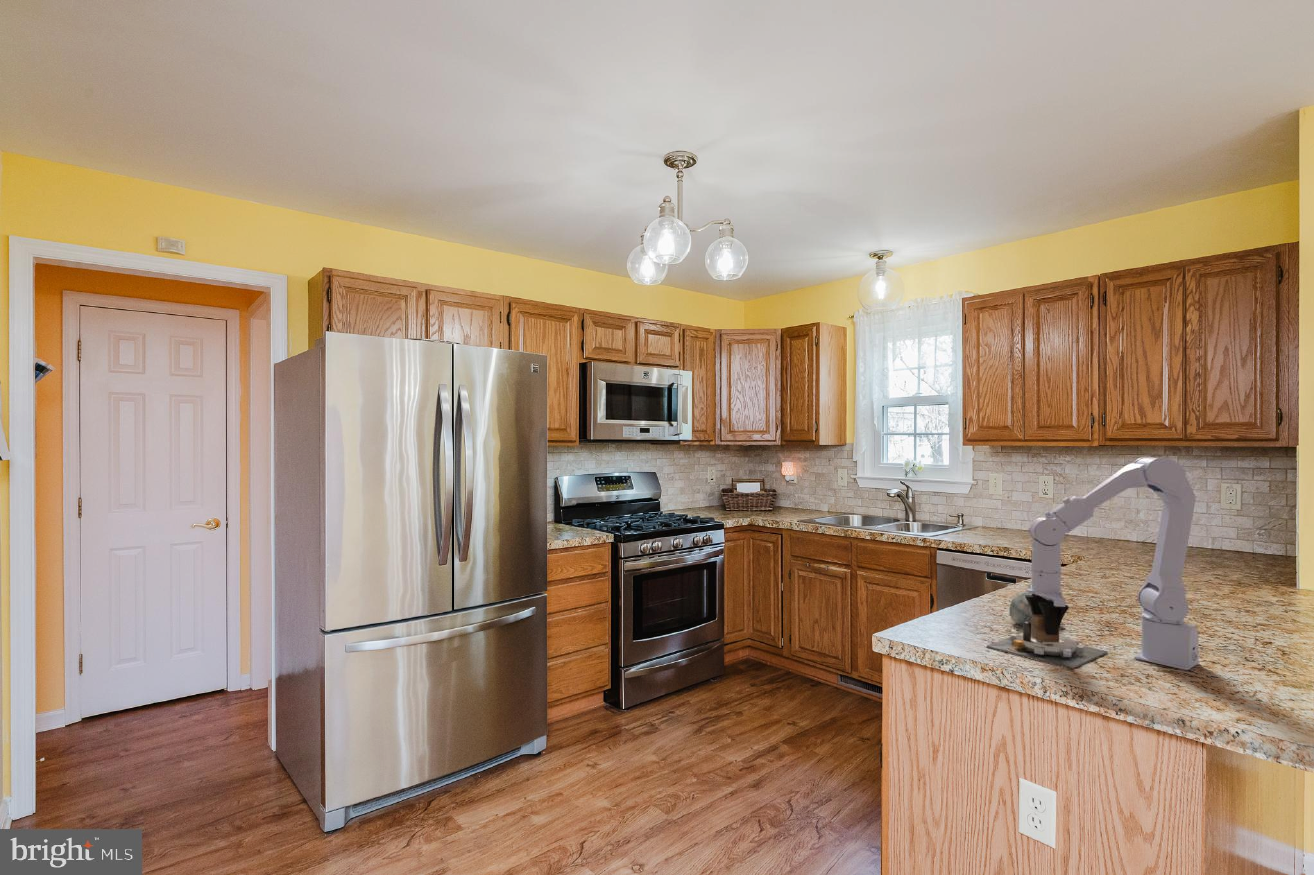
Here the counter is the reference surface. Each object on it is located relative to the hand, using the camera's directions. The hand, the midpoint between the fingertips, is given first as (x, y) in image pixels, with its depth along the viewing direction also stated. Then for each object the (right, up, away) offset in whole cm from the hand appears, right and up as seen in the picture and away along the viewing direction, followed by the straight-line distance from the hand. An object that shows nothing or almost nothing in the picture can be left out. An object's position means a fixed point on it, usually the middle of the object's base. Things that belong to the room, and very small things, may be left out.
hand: (1046, 630), depth 150 cm
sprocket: (0, -4, 0) cm, 4 cm away
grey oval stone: (+10, -5, +22) cm, 25 cm away
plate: (0, -4, 0) cm, 4 cm away
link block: (0, -2, 0) cm, 2 cm away
